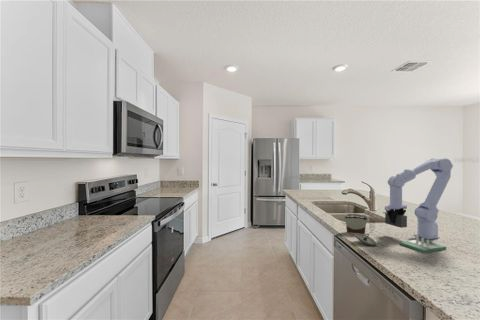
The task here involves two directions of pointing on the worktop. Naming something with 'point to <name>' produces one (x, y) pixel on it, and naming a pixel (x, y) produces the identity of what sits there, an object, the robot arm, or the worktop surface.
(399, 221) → the plug housing
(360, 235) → the lid
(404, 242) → the header board
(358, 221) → the food container
